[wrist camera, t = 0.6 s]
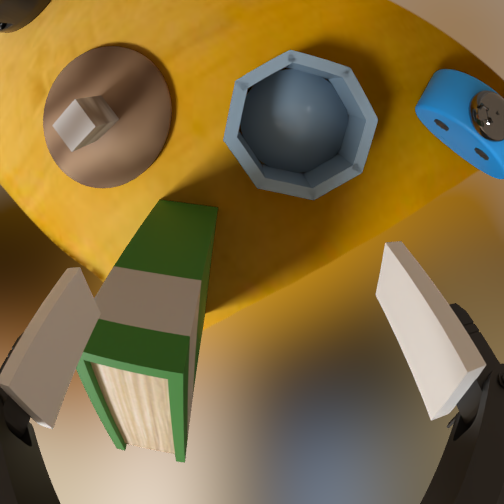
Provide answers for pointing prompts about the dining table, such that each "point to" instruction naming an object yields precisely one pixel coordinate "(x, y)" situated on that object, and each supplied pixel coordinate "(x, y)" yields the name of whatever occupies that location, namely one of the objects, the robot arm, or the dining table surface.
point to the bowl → (300, 125)
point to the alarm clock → (465, 118)
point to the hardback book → (152, 330)
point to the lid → (107, 116)
